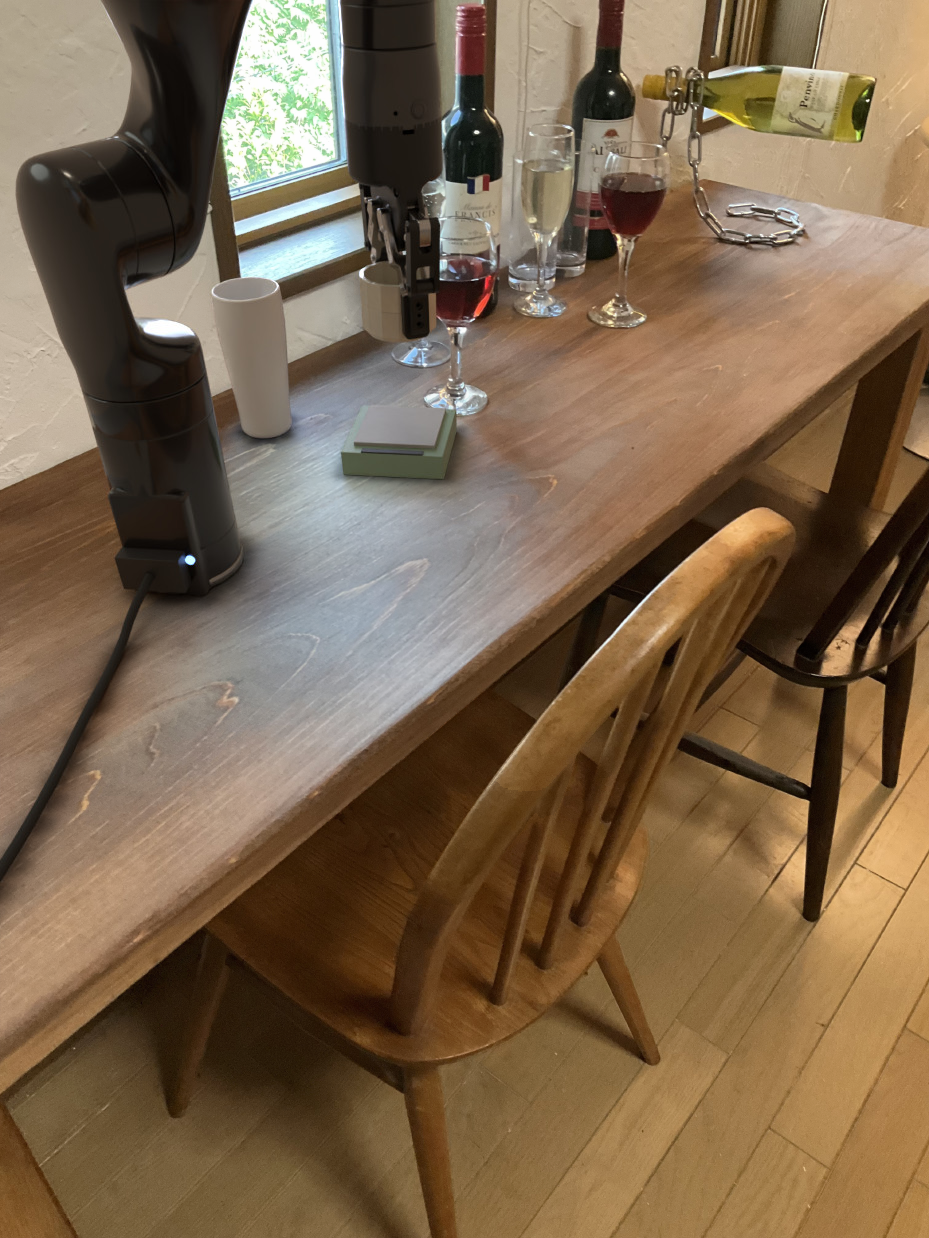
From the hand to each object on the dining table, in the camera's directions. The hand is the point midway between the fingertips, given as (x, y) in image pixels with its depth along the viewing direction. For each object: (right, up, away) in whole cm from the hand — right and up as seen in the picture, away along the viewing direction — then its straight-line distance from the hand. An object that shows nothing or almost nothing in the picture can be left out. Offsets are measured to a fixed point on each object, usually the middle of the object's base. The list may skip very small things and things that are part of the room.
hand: (403, 321), depth 84 cm
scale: (-1, -9, +14) cm, 16 cm away
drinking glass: (-16, -6, +18) cm, 25 cm away
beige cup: (0, -1, 0) cm, 1 cm away
